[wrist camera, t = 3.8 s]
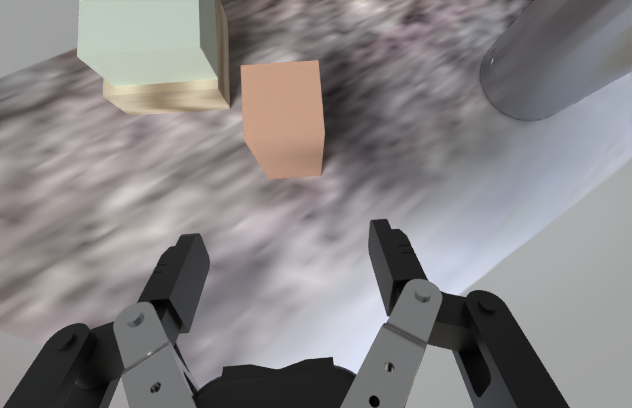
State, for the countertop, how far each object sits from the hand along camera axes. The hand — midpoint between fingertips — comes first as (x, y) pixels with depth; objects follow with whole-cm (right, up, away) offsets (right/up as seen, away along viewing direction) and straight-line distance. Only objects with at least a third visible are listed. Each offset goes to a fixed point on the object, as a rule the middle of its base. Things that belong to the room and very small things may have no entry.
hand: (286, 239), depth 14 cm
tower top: (-12, +17, +12) cm, 24 cm away
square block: (-1, +7, +14) cm, 16 cm away
